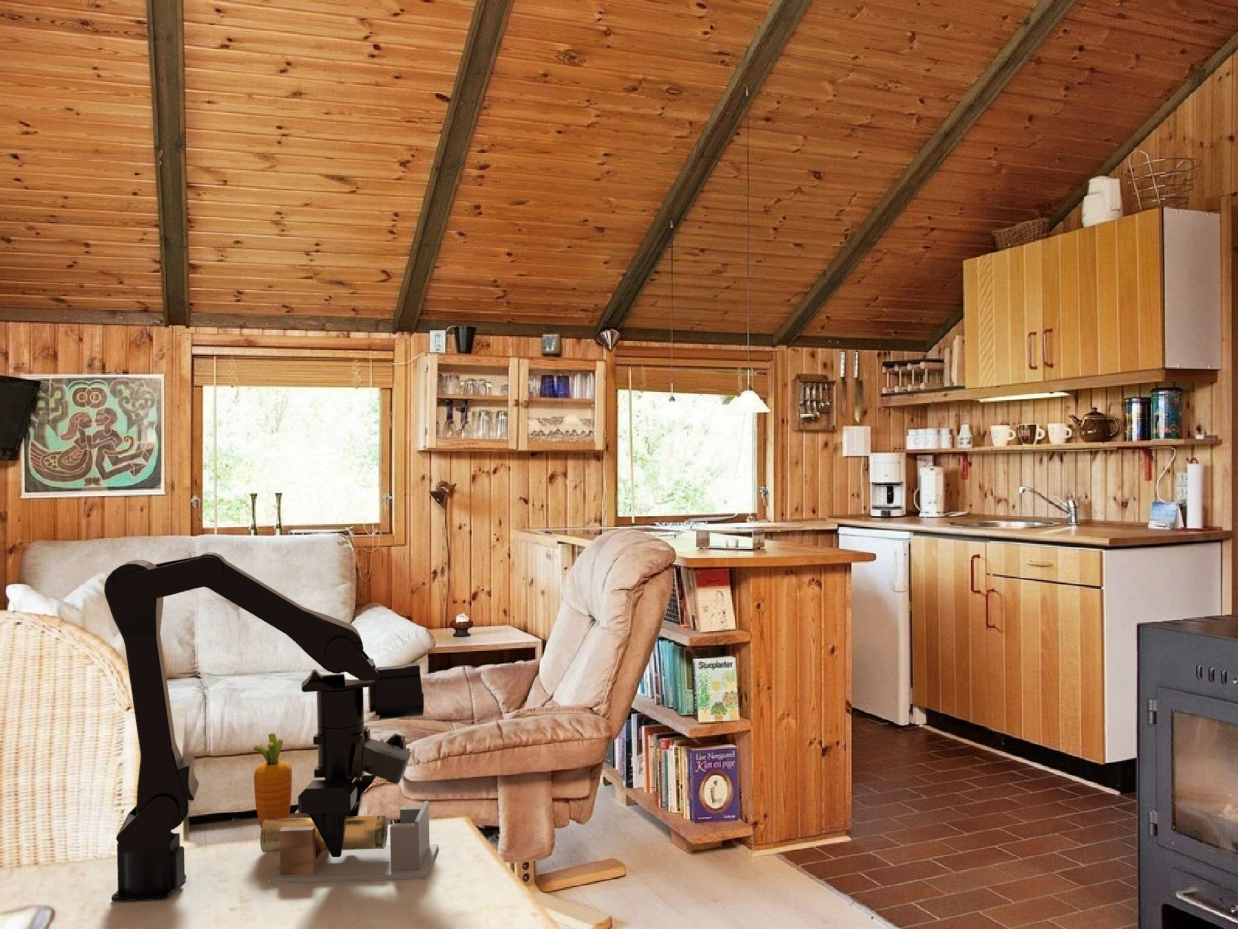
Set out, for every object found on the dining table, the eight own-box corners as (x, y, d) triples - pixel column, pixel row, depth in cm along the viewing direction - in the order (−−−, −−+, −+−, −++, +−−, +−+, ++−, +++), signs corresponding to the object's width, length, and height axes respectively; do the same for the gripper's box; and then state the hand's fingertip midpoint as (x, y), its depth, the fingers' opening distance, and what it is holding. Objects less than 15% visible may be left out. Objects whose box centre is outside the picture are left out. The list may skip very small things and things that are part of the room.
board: (269, 883, 127) (269, 878, 127) (293, 853, 137) (292, 848, 137) (426, 878, 127) (426, 873, 127) (438, 848, 137) (438, 844, 137)
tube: (260, 857, 130) (259, 825, 130) (270, 845, 134) (269, 814, 134) (381, 853, 130) (381, 821, 130) (387, 842, 134) (387, 811, 134)
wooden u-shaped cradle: (280, 875, 128) (279, 831, 128) (298, 851, 136) (297, 809, 136) (313, 874, 128) (312, 830, 128) (329, 850, 136) (328, 808, 136)
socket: (391, 871, 128) (389, 822, 128) (402, 847, 136) (401, 801, 136) (419, 870, 128) (418, 821, 128) (429, 847, 136) (428, 801, 136)
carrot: (282, 856, 136) (279, 741, 136) (247, 854, 137) (245, 739, 137) (301, 842, 141) (298, 731, 141) (267, 840, 142) (265, 730, 142)
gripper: (390, 740, 123) (393, 873, 123) (416, 704, 142) (419, 819, 142) (295, 743, 123) (298, 876, 123) (334, 707, 141) (336, 822, 141)
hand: (343, 846), depth 132 cm, fingers open, 7 cm apart
